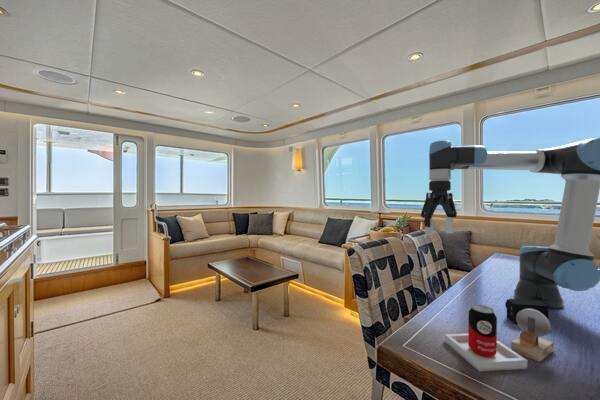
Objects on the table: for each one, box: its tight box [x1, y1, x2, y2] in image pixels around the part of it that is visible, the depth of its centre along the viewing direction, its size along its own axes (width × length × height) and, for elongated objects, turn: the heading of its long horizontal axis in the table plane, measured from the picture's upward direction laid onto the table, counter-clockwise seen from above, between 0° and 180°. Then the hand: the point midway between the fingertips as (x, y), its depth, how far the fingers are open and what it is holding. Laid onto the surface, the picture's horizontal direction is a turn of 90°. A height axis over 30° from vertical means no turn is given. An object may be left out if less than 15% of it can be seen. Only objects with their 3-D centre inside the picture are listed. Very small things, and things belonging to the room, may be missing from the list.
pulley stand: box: [510, 308, 555, 363], centre depth 71 cm, size 10×7×12 cm
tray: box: [444, 333, 528, 372], centre depth 70 cm, size 13×13×2 cm
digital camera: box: [504, 298, 550, 325], centre depth 89 cm, size 10×5×7 cm, turn 82°
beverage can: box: [468, 304, 498, 357], centre depth 70 cm, size 6×6×12 cm
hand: (439, 234), depth 101 cm, fingers open, 13 cm apart
